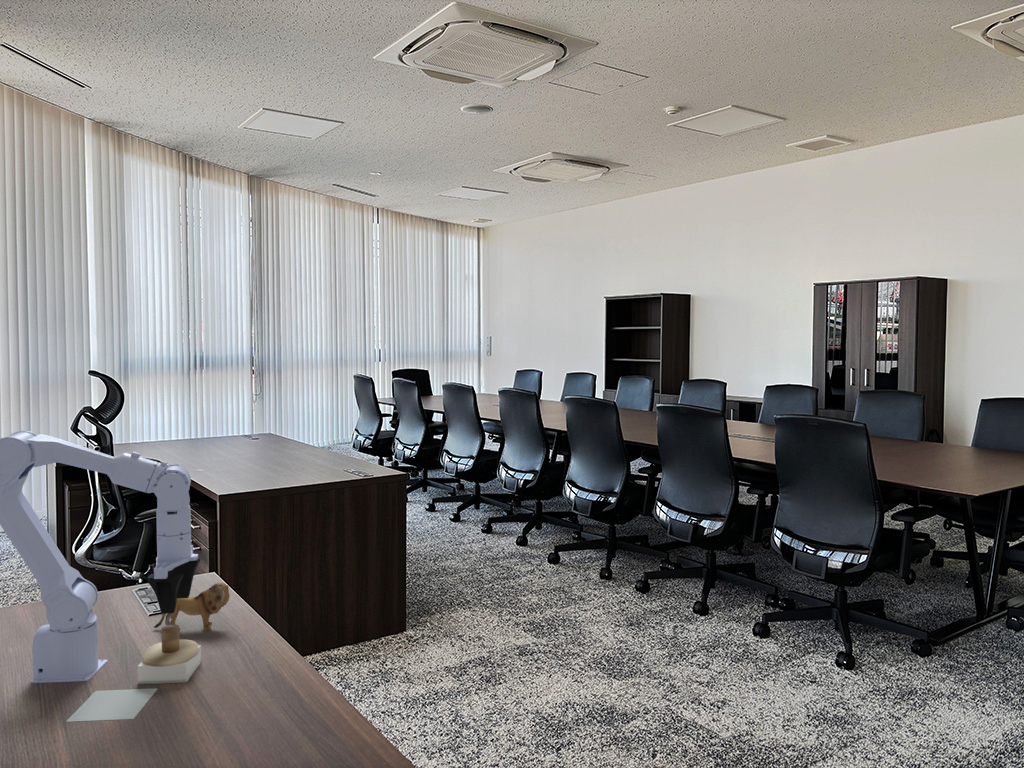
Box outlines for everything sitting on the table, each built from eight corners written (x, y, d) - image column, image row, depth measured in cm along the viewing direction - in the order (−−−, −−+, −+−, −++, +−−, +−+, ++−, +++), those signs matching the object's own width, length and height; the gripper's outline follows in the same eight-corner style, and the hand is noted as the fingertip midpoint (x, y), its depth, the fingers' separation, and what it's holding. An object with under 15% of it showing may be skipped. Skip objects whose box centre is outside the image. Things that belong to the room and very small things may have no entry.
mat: (65, 724, 113) (65, 721, 113) (95, 693, 123) (95, 690, 123) (133, 721, 114) (133, 718, 114) (157, 690, 124) (157, 688, 124)
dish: (137, 686, 126) (137, 666, 126) (155, 665, 134) (155, 646, 133) (186, 684, 127) (186, 664, 126) (201, 663, 134) (200, 645, 134)
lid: (134, 668, 125) (134, 639, 124) (151, 646, 134) (151, 619, 133) (190, 664, 126) (190, 636, 126) (204, 643, 135) (203, 616, 135)
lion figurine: (231, 620, 156) (231, 578, 155) (228, 629, 150) (227, 586, 150) (156, 625, 152) (155, 583, 152) (150, 635, 147) (149, 591, 147)
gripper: (183, 542, 128) (184, 619, 129) (208, 522, 142) (210, 590, 143) (140, 543, 127) (142, 620, 128) (170, 522, 141) (172, 591, 142)
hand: (175, 605), depth 135 cm, fingers open, 7 cm apart
